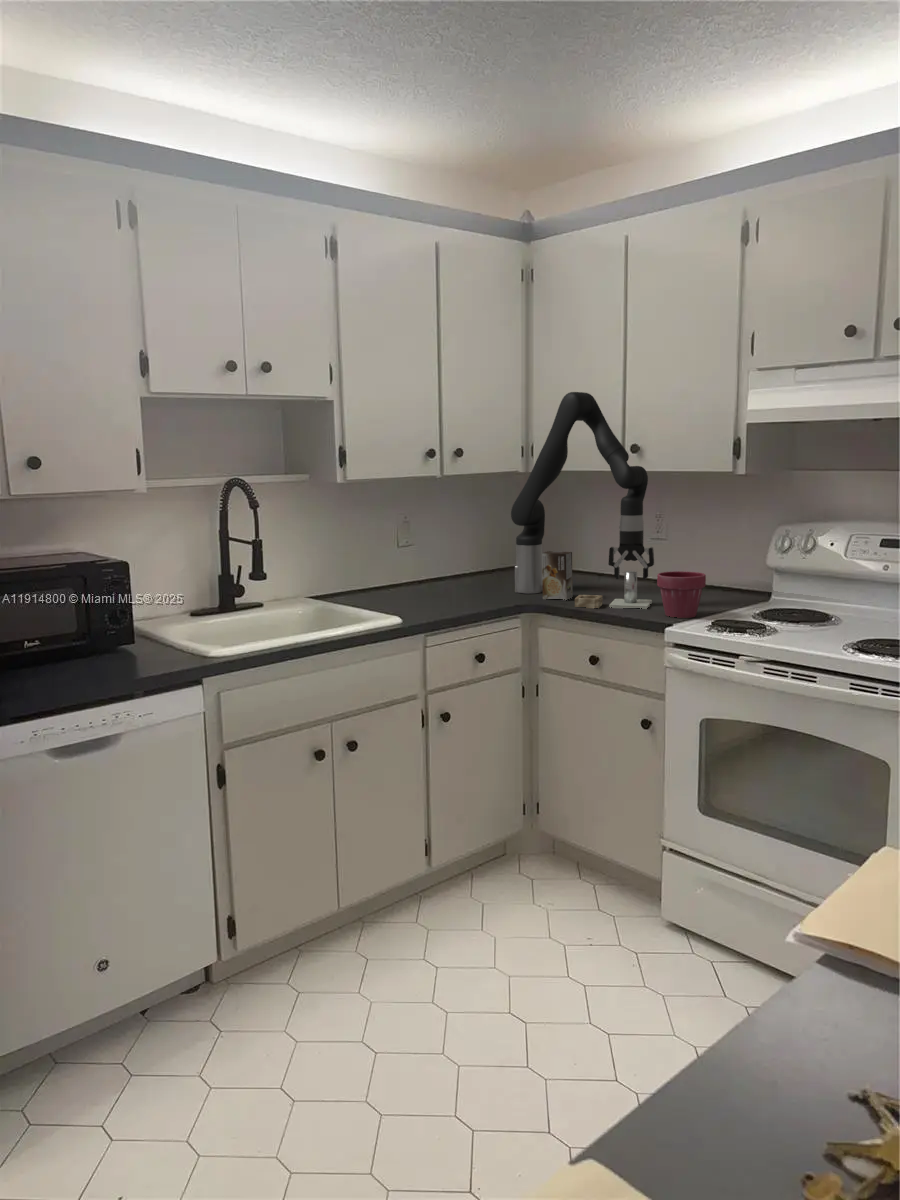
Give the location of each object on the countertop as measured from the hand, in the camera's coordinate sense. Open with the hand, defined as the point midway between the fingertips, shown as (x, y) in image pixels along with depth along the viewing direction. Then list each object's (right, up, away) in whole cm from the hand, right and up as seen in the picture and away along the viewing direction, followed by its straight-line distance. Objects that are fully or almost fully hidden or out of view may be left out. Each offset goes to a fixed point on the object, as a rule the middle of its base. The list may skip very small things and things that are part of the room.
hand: (631, 579), depth 287 cm
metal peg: (0, -7, +1) cm, 8 cm away
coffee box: (-22, -7, +18) cm, 29 cm away
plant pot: (+12, -12, -17) cm, 24 cm away
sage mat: (0, -8, +1) cm, 9 cm away
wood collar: (-13, -9, +2) cm, 16 cm away
